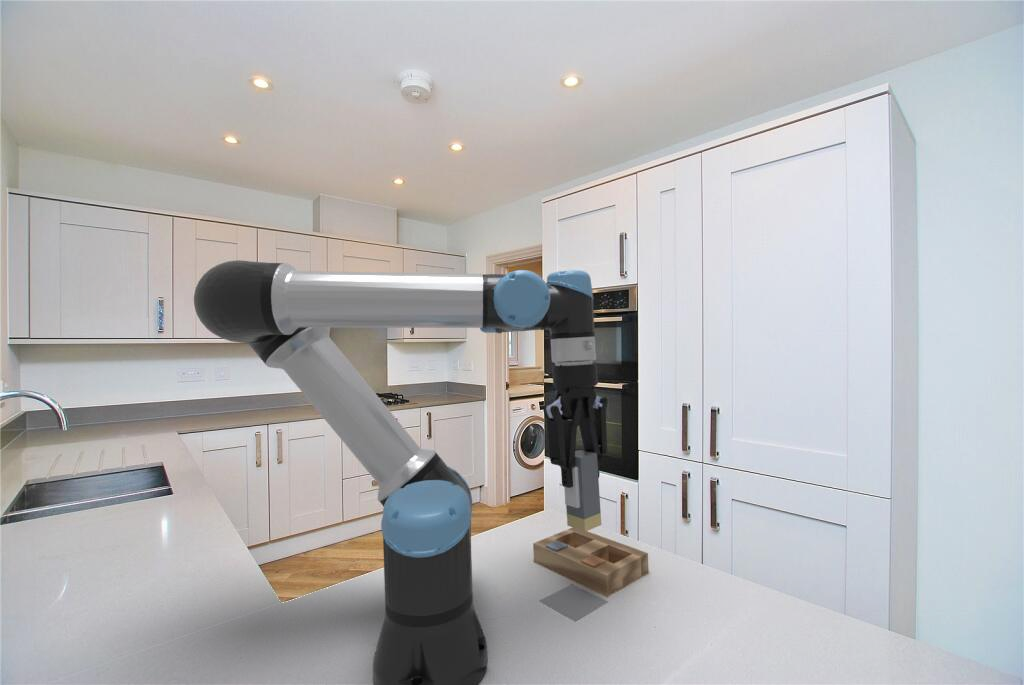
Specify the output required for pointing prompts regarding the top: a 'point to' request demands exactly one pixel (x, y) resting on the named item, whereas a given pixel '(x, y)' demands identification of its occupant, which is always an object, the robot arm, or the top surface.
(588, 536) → the socket board
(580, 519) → the plug
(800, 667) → the top surface
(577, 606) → the mat
